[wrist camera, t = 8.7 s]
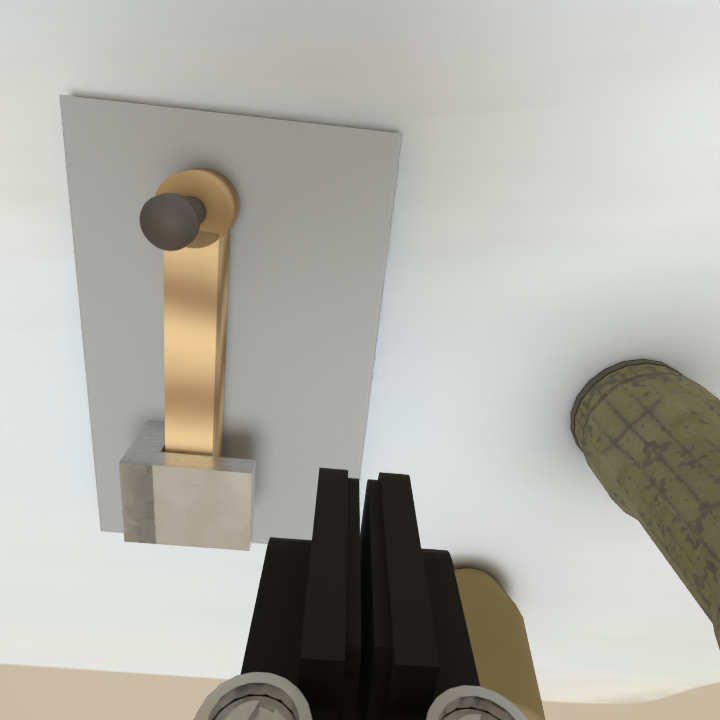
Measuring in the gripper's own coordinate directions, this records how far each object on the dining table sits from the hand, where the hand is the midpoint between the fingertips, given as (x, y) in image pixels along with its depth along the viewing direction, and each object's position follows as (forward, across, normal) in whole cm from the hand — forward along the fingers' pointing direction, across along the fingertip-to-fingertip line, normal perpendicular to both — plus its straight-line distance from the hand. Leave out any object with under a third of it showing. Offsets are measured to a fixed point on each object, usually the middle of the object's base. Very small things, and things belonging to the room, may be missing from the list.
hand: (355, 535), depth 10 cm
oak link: (+25, +9, +7) cm, 28 cm away
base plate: (+27, +8, +8) cm, 29 cm away
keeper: (+26, +9, +16) cm, 32 cm away
